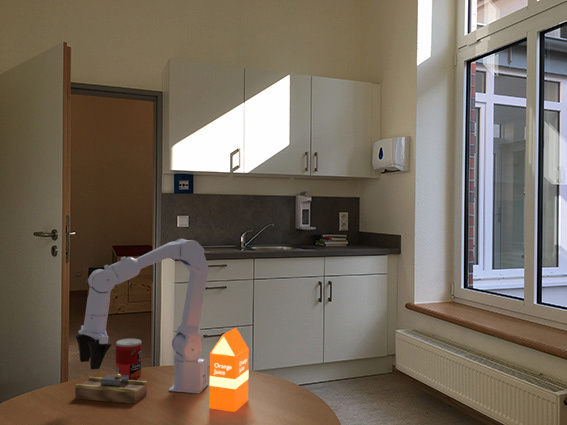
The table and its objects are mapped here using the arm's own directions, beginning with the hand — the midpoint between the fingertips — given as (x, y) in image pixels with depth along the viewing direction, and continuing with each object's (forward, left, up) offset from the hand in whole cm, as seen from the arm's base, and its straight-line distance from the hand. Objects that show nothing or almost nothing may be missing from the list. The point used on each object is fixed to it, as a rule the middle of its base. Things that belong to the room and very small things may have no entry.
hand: (89, 365), depth 132 cm
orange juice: (-36, -10, -11) cm, 39 cm away
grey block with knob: (-3, -8, -8) cm, 11 cm away
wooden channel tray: (-2, -8, -11) cm, 13 cm away
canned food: (+2, -25, -11) cm, 27 cm away
